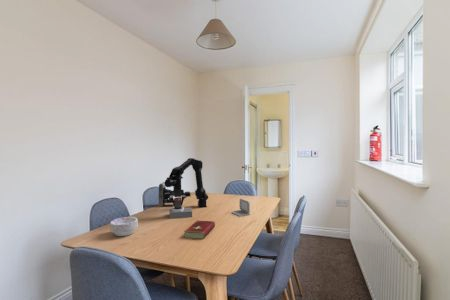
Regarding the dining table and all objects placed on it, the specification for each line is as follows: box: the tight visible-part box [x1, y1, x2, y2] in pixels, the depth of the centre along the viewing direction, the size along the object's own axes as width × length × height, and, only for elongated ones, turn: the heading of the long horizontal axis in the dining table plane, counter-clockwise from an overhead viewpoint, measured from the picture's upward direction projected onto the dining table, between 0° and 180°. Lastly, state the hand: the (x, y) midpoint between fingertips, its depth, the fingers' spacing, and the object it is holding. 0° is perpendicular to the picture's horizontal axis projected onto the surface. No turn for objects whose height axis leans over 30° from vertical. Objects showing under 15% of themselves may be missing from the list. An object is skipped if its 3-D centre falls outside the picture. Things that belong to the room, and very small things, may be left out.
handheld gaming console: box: [231, 198, 251, 217], centre depth 187 cm, size 13×9×10 cm
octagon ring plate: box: [169, 206, 193, 220], centre depth 184 cm, size 16×12×6 cm
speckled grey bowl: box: [109, 216, 139, 237], centre depth 148 cm, size 15×15×8 cm
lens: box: [173, 197, 182, 209], centre depth 184 cm, size 5×5×8 cm
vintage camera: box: [158, 181, 174, 207], centre depth 217 cm, size 10×16×20 cm, turn 89°
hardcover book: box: [183, 219, 216, 240], centre depth 149 cm, size 12×21×4 cm, turn 166°
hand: (177, 206), depth 184 cm, fingers closed on lens, 5 cm apart
